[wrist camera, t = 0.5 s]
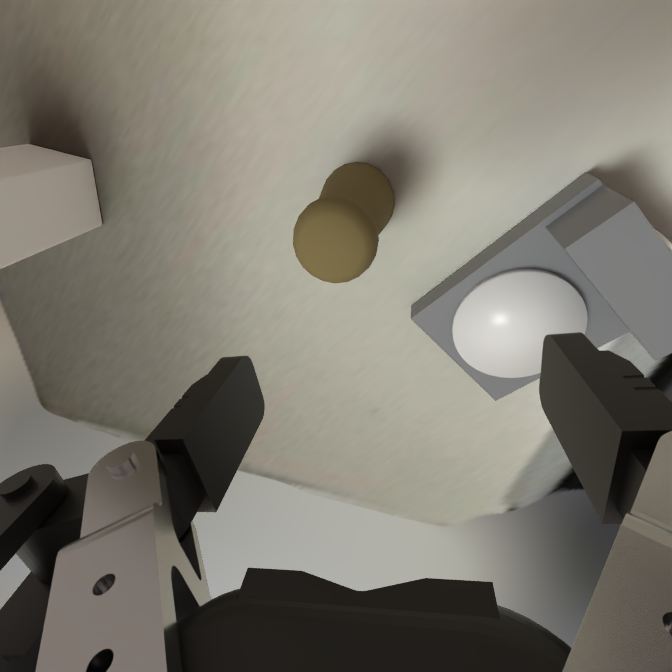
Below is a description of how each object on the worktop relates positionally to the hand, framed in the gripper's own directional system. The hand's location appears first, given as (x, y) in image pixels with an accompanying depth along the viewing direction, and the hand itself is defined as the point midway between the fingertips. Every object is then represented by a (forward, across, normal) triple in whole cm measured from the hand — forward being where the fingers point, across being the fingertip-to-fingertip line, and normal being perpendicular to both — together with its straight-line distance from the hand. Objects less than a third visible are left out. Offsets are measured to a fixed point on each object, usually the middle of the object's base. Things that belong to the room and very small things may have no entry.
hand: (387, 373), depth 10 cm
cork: (+23, +3, -2) cm, 23 cm away
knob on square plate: (+23, -10, +8) cm, 27 cm away
